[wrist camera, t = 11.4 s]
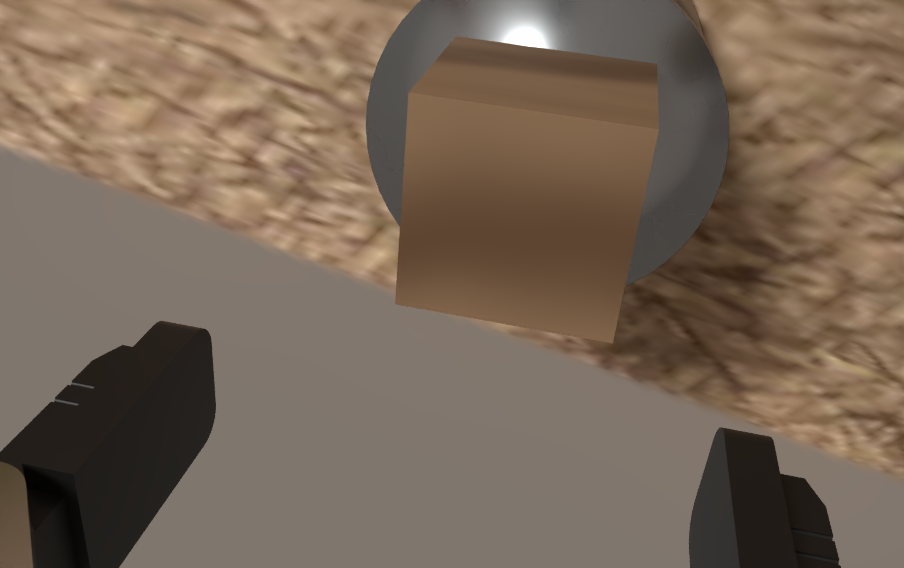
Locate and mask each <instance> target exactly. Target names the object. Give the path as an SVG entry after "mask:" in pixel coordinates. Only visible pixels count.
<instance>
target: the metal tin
mask: <svg viewBox="0 0 904 568" xmlns="http://www.w3.org/2000/svg"><path fill="white" fill-rule="evenodd" d="M456 36H459V37H466V38H474V39H481V40H488V41H495V42H503V43H510V44H517V45H524V46H531V47H539V48H546V49H553V50H560V51H568V52H575V53H582V54H589V55H597V56H604V57H611V58H618V59H626V60H633V61H640V62H647V63H654V64H657V81H658V110H659V132H658V137H657V142H656V146H655V151H654V155H653V160H652V165H651V169H650V174H649V179H648V183H647V188H646V192H645V197H644V202H643V206H642V211H641V215H640V220H639V225H638V229H637V234H636V238H635V243H634V248H633V252H632V257H631V262H630V266H629V271H628V275H627V280H626V285H625V286H627V285H629V284H632V283H634V282H635V281H637V280H639V279H641V278H643V277H644V276H646V275H648V274H650V273H651V272H653V271H654V270H655V269H657V268H658V267H659V266H661V265H662V264H663V263H665V262H666V261H667V260H669V259H670V258H671V257H672V256H673V255H674V254H675V253H676V252H677V251H678V250H679V249H680V248H681V247H682V246H683V245H684V244H685V243H686V242H687V241H688V240H689V238H690V237H691V236H692V235H693V233H694V232H695V231H696V230H697V228H698V227H699V226H700V224H701V222H702V221H703V219H704V217H705V216H706V214H707V212H708V211H709V209H710V207H711V205H712V203H713V201H714V198H715V196H716V194H717V192H718V189H719V187H720V184H721V180H722V177H723V173H724V169H725V166H726V161H727V153H728V145H729V114H728V107H727V101H726V95H725V90H724V86H723V83H722V80H721V76H720V73H719V70H718V67H717V64H716V61H715V59H714V57H713V55H712V53H711V51H710V49H709V46H708V44H707V42H706V40H705V39H704V37H703V32H702V28H701V24H700V21H699V18H698V14H697V11H696V8H695V5H694V3H693V1H692V0H421V1H420V2H419V3H417V5H416V6H415V7H414V8H413V9H412V10H411V11H410V12H409V13H408V15H407V16H406V17H405V18H404V19H403V20H402V21H401V23H400V24H399V26H398V27H397V29H396V30H395V32H394V33H393V35H392V36H391V38H390V39H389V41H388V43H387V45H386V47H385V49H384V51H383V53H382V55H381V57H380V59H379V61H378V64H377V67H376V70H375V73H374V76H373V79H372V82H371V86H370V92H369V97H368V103H367V116H366V134H367V147H368V153H369V158H370V162H371V167H372V171H373V174H374V177H375V180H376V183H377V185H378V188H379V191H380V193H381V195H382V197H383V199H384V201H385V203H386V205H387V207H388V209H389V211H390V212H391V214H392V215H393V217H394V218H395V220H396V221H397V223H398V225H399V226H400V221H401V205H402V189H403V174H404V158H405V142H406V126H407V110H408V94H409V91H410V90H411V89H412V88H413V87H414V85H415V84H416V83H417V82H418V81H419V80H420V78H421V77H422V76H423V75H424V74H425V72H426V71H427V70H428V69H429V68H430V67H431V65H432V64H433V63H434V62H435V61H436V59H437V58H438V57H439V56H440V55H441V54H442V52H443V51H444V50H445V49H446V48H447V46H448V45H449V44H450V43H451V42H452V41H453V39H454V38H455V37H456Z"/></svg>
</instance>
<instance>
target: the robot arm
mask: <svg viewBox="0 0 904 568" xmlns="http://www.w3.org/2000/svg"><path fill="white" fill-rule="evenodd" d="M215 411H216V401H215V386H214V371H213V358H212V343H211V337H210V334H209V332H208V331H207V330H206V329H202V328H197V327H192V326H187V325H181V324H176V323H171V322H165V321H159V322H157V323H156V324H155V325H154V326H153V327H152V328H151V329H150V330H149V331H148V332H147V333H146V334H145V335H144V336H143V337H142V338H141V339H140V340H139V341H138V342H137V343H136V345H134V346H133V347H129V346H125V345H122V346H120V347H118V348H116V349H114V350H112V351H110V352H108V353H106V354H104V355H102V356H100V357H98V358H96V359H95V360H93V361H91V362H90V364H89V365H87V366H86V367H85V368H84V369H83V371H81V373H79V374H78V375H77V376H76V378H74V379H73V380H72V384H71V386H70V385H68V386H66V387H65V388H64V389H63V390H62V392H60V393H59V394H58V395H57V396H56V397H55V401H54V402H50V403H49V404H48V405H47V406H46V407H45V408H44V409H43V410H42V411H41V412H40V413H39V414H38V415H37V416H36V417H35V418H34V419H33V420H32V421H31V422H30V423H29V424H28V425H27V426H26V427H25V428H24V429H23V430H22V431H21V432H20V433H19V434H18V435H17V436H16V437H15V438H14V439H13V440H12V441H11V442H10V443H9V444H8V445H7V446H6V447H5V448H4V449H3V450H2V451H1V452H0V568H119V567H120V565H121V564H122V562H123V561H124V560H125V558H126V557H127V555H128V554H129V552H130V551H131V550H132V548H133V546H134V545H135V544H136V542H137V541H138V539H139V538H140V537H141V535H142V534H143V532H144V531H145V529H146V528H147V527H148V525H149V524H150V522H151V521H152V519H153V518H154V517H155V515H156V514H157V512H158V511H159V509H160V508H161V507H162V505H163V504H164V502H165V501H166V499H167V498H168V497H169V495H170V493H171V492H172V491H173V489H174V488H175V487H176V485H177V484H178V482H179V481H180V479H181V478H182V476H183V475H184V474H185V472H186V471H187V469H188V467H189V466H190V465H191V464H192V462H193V461H194V459H195V458H196V456H197V455H198V453H199V452H200V451H201V449H202V448H203V446H204V445H205V443H206V442H207V440H208V438H209V435H210V433H211V430H212V427H213V423H214V419H215ZM832 538H833V533H832V529H831V525H830V521H829V517H828V514H827V509H826V507H825V505H824V504H823V502H822V501H821V500H820V498H819V497H818V496H817V495H816V493H815V492H814V490H813V489H812V488H811V487H810V485H809V484H808V482H807V481H806V480H805V479H804V478H799V477H794V476H789V475H784V474H780V471H779V466H778V461H777V456H776V451H775V446H774V441H773V439H772V438H771V437H769V436H764V435H758V434H753V433H748V432H742V431H737V430H732V429H726V428H719V429H718V430H717V432H716V434H715V437H714V440H713V443H712V446H711V450H710V453H709V457H708V460H707V463H706V466H705V469H704V473H703V476H702V479H701V483H700V486H699V489H698V492H697V496H696V499H695V503H694V507H693V511H692V516H691V523H690V533H689V554H690V568H841V566H840V565H838V562H839V557H838V553H837V549H836V545H835V542H834V541H832Z"/></svg>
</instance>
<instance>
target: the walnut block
mask: <svg viewBox="0 0 904 568" xmlns="http://www.w3.org/2000/svg"><path fill="white" fill-rule="evenodd" d="M658 132H659V110H658V81H657V64H654V63H647V62H640V61H633V60H626V59H618V58H611V57H604V56H597V55H589V54H582V53H575V52H568V51H560V50H553V49H546V48H539V47H531V46H524V45H517V44H510V43H503V42H495V41H488V40H481V39H474V38H466V37H459V36H456V37H455V38H454V39H453V41H452V42H451V43H450V44H449V45H448V46H447V48H446V49H445V50H444V51H443V52H442V54H441V55H440V56H439V57H438V58H437V59H436V61H435V62H434V63H433V64H432V65H431V67H430V68H429V69H428V70H427V71H426V72H425V74H424V75H423V76H422V77H421V78H420V80H419V81H418V82H417V83H416V84H415V85H414V87H413V88H412V89H411V90H410V91H409V94H408V110H407V126H406V142H405V158H404V174H403V189H402V205H401V221H400V237H399V253H398V269H397V284H396V300H395V304H398V305H403V306H409V307H414V308H419V309H425V310H430V311H436V312H441V313H447V314H453V315H458V316H464V317H469V318H475V319H480V320H486V321H491V322H497V323H502V324H508V325H513V326H519V327H525V328H530V329H536V330H541V331H547V332H552V333H558V334H563V335H569V336H574V337H580V338H585V339H591V340H597V341H602V342H608V343H613V340H614V335H615V331H616V326H617V322H618V317H619V312H620V308H621V303H622V298H623V294H624V289H625V285H626V280H627V275H628V271H629V266H630V262H631V257H632V252H633V248H634V243H635V238H636V234H637V229H638V225H639V220H640V215H641V211H642V206H643V202H644V197H645V192H646V188H647V183H648V179H649V174H650V169H651V165H652V160H653V155H654V151H655V146H656V142H657V137H658Z"/></svg>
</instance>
